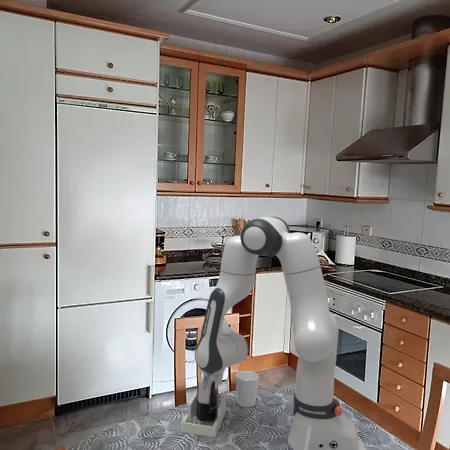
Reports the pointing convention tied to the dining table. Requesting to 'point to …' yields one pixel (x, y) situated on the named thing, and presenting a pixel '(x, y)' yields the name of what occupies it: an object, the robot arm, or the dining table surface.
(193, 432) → the dock
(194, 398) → the channel
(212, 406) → the supplement bottle
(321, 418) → the robot arm
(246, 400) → the white cup
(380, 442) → the dining table surface
